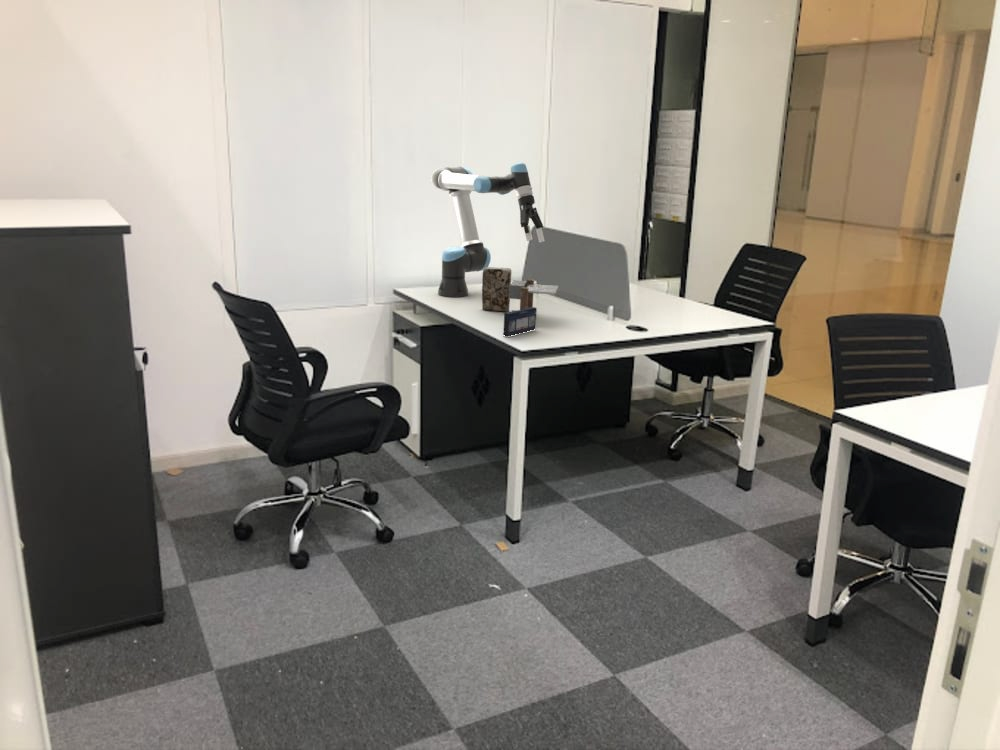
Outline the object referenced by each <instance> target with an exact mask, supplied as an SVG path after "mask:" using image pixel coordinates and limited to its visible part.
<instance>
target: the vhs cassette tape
mask: <svg viewBox="0 0 1000 750" xmlns="http://www.w3.org/2000/svg"><path fill="white" fill-rule="evenodd" d="M537 309H538V308H537V307H534V306H533V307H531V308H526V309H521V310H520V309H519V310H518V309H516V311H513V312H512V311H508V312H504V315H503V330H502V331H503V332H502V335H505V336H511V335H515V334H519V333H523V332H527V331H530V330H534V329H535V330H536V324H537V312H538V311H537Z"/></svg>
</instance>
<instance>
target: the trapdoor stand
mask: <svg viewBox="0 0 1000 750" xmlns="http://www.w3.org/2000/svg"><path fill="white" fill-rule="evenodd" d="M526 281H527V287H528V286H529V284H535V279H528V278H527V280H526ZM519 300H520V301H519V302H520V303H519V310H521V309H526V308H531V307H534V305H533V304H534V293H528V288H526V287H521V297H520V299H519ZM513 311H517V309H516V310H511V312H513Z"/></svg>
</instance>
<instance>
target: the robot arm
mask: <svg viewBox="0 0 1000 750" xmlns="http://www.w3.org/2000/svg"><path fill="white" fill-rule="evenodd" d="M430 180H431V185H432V186H433V187H434V188H435V189H437V190H439V191H442V192H443V191H444V192H445V191H446V192H448V195H449V197H450V198H452V199H453V204H454V208H455V213H456V218H457V222H458V227H459V231H460V236H461V240H462V245H461V246H451V247H447V248H444V250H442V253H441V256H442V257H441V280H440V283H439V287H438V291H437V294H438V295H439V296H441V297H446V296H448V297H447V298H461V297H462V296H463V297H466V296H468V295H469V289H468V285H467V282H466V273H471V272H472V273H473V272H477V273H478V272H483V269H484V268H487V267H490V263H491V259H492V258H491V252H490V250H489V249H488V248H487V247H485V246H484V242H482V241H481V240H480V238H479V233H478V228H477V223H476V220H475V214H474V210H473V206H472V205H473V204H472V201H471V200H472V199H471V193H472V192H476V193H478V194H489V193H490V194H491V193H493V194H495V193H496V194H499V195H502V196H505V195H506V194H509V193H511V192H512V191H514V190H515V194H516V198H517V202H518V207H519V214H520V216H519V217H520V218H519V219H520V227H521V228H523V230H524V235H525V239H526V242H530V241H532V240H533V234H532V230H531V227H530V225H529V222H530V219H531V221H532V223H533V225H534V227H535V228H536V229H535V231H536V235H537V239H538V243H543V242H545V241H546V240H545V237H544V233H543V229H542V228H544V224H543V222H542V220H541V216H540V215H539V213H538V210H537V207H533V205H534V204H535V203H536V201H535V196H534V195H533V193H534V192H533V186H532V184H531V181H530V176H529V171H528V169H527V166H526V164H525V163H524V162H519V163H515V164H513V165H510V172H509V174H505V175H496V176H495V175H494V176H492V175H491V176H490V175H489V176H487V175H475V174H473V172H472V170H470V169H469V168H468V167H466V166H465V167H464V166H442V167H438V168H436V169H434V171H432V174H431V177H430ZM463 297H462V298H463Z"/></svg>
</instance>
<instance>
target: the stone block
mask: <svg viewBox="0 0 1000 750" xmlns="http://www.w3.org/2000/svg"><path fill="white" fill-rule="evenodd" d="M481 278H482V281H481V282H482V285H481V288H482V289H481V300H482V301H481V303H482V305H481V306H482V308H481V309H482V310H483V311H490V312H506V313H509V312H510V302H511V299H509V298H510V285H511V283H512V268H509V267H494V266H492V267H491V266H488V267H487V268H484V269H483V270H482V277H481Z"/></svg>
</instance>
